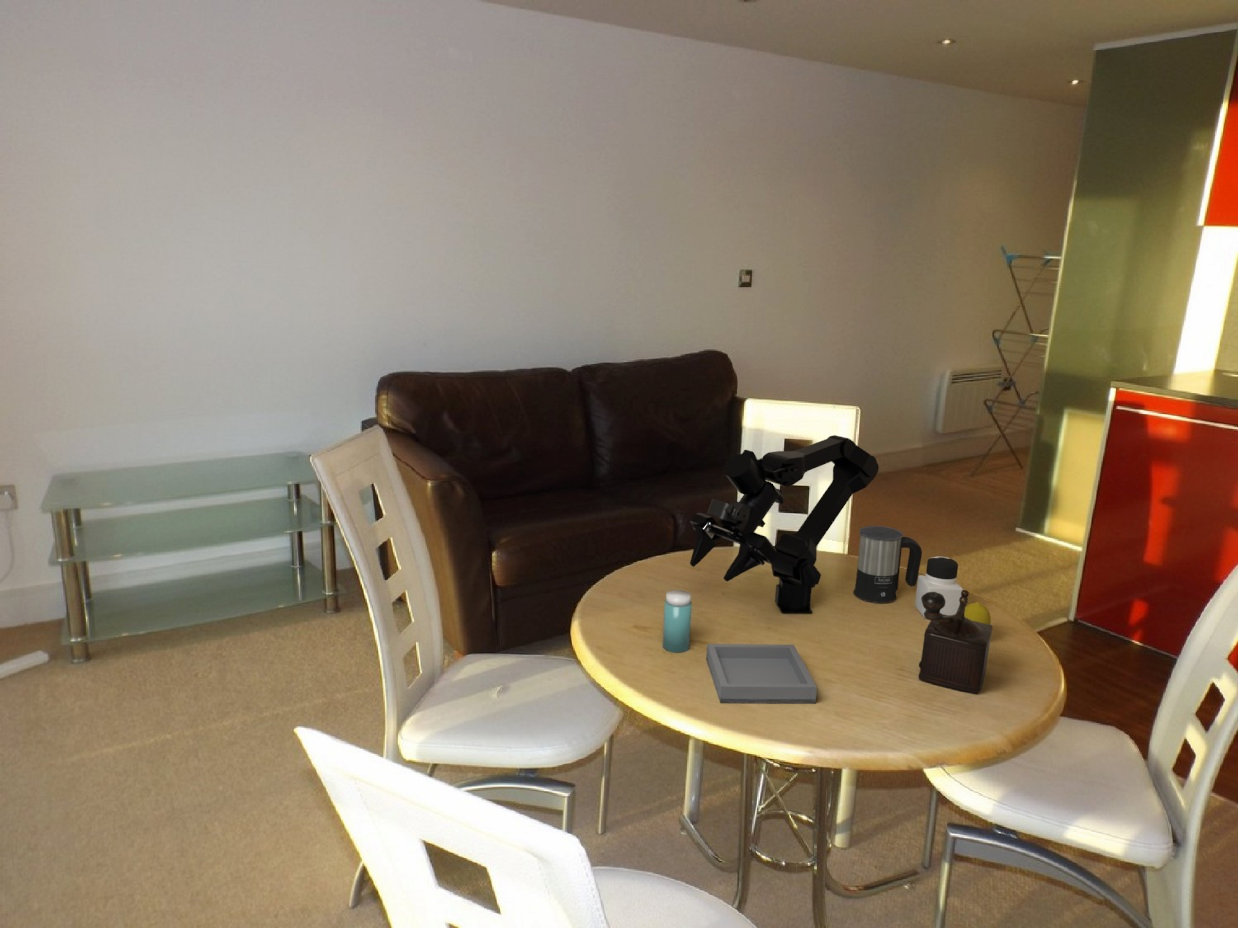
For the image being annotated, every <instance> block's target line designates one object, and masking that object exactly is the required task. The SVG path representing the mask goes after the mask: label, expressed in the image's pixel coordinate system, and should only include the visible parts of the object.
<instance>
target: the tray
mask: <svg viewBox="0 0 1238 928" xmlns="http://www.w3.org/2000/svg"><path fill="white" fill-rule="evenodd" d="M705 659H706V663H707V666H708V668H709V674H710V676H711V678H712V681H713V682H712V683H713V684H714V688H715V691H716V694H717V697H718V701H719V703H720V704H801V705H803V704H811V705H812V704H813V705H814V704H816V703H817V692H818V686H817V685H816V682H815V681H814V679H813V677H812V675H811V674H810V672H809V670H808V668H807V666H806V664H805V662H804V661H803V659H802V657H801V655H800V653H799V651H798V649H797V648H796V645H794V644H766V643H765V644H764V643H763V644H758V643H757V644H755V643H754V644H751V643H750V644H747V643H746V644H744V643H742V644H741V643H739V644H737V643H733V644H732V643H707V644H706V657H705Z"/></svg>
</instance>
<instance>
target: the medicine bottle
mask: <svg viewBox="0 0 1238 928" xmlns="http://www.w3.org/2000/svg"><path fill="white" fill-rule="evenodd" d="M925 569H926V572H925V575H924V574H920V575H919V574H918V578H917V583H916V593H915V599H914V606H915V608H916V609H917V610H918V612H919V613H920V614H921V616H922V617H923V619H925V620H927V619H926V618H925V616H924V612H925V610H926V609H925V608H924V607H923V604H922V600H921V598H922V596H923V595H924V594H926V593H928V592H937V593H940V594H942V595H943V596H944V599H945V601H946V602H945V606H944V607H943V608H942V609H941V610H940V613H942V614H944V615H948V616H949V615H955V614H956V613H957V610H958V608H959V605H960V602H959V599H960V597H961V592H962V591H963V590H964V589H963V587H962V586H961V585H960V584H959V582H957V578H958V569H959V563H958V562H957V561H956V560H954V559H952V558H951V557H947V556H933V557H932V556H931V557H929V558H928V559H927V562H926V568H925Z"/></svg>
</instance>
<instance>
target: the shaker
mask: <svg viewBox="0 0 1238 928" xmlns="http://www.w3.org/2000/svg"><path fill="white" fill-rule="evenodd" d="M692 602H693V601H692V594H691V593H690V592H689V591H686V590H682V589H680V590H679V589H672V590H668V591H667V592H666V593H665V600H664V611H663V631H662V632H663V633H662V648H663V650H664V651H665V652H666V651H667V652H669V653H673V654H675V653H676V654H678V653H679V654H682V653H686V652H688V651H689V650H690V642H691V641H690V639H691V621H692V604H693V603H692Z"/></svg>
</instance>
